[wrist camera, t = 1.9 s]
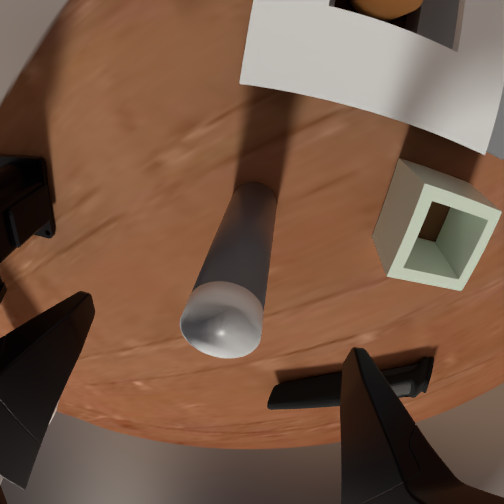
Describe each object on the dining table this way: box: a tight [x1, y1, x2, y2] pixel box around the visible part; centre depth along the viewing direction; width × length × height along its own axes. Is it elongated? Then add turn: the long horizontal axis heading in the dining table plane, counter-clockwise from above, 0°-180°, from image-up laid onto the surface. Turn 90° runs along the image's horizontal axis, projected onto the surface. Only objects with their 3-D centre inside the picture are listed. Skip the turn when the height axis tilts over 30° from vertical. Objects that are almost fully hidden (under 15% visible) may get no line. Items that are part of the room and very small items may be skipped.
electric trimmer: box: [267, 357, 434, 410], centre depth 25 cm, size 4×16×3 cm, turn 103°
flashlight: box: [180, 182, 277, 358], centre depth 14 cm, size 3×3×10 cm
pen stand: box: [372, 158, 502, 291], centre depth 15 cm, size 5×5×4 cm
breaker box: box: [239, 0, 504, 160], centre depth 9 cm, size 14×12×6 cm
